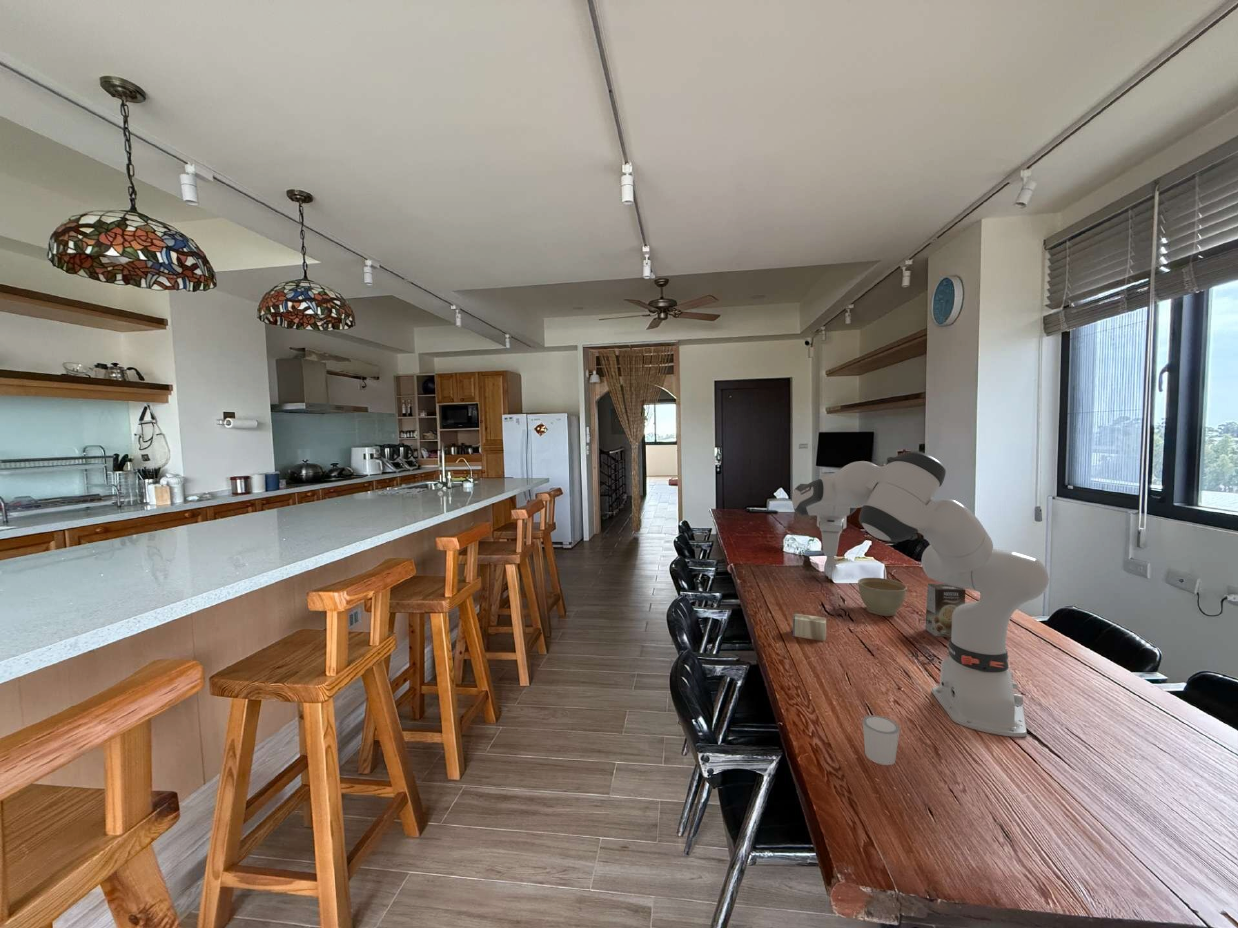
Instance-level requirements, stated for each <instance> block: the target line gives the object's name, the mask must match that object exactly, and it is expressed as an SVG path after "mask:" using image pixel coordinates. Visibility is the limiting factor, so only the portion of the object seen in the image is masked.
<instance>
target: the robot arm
mask: <svg viewBox="0 0 1238 928" xmlns="http://www.w3.org/2000/svg"><path fill="white" fill-rule="evenodd" d="M946 472H947V471H946V468H945V467H944V465H943V463H942V462H941V461H939V460H938V459H937V458H935V457H933V456H931V455H930V454H927V453H925V452H922V451H918V450H911V451H907V452H902V453H900V454H898V455H896V456H888V457H887V458H886V463H885V465H883V466H879V465H877V464H874V463H873V462H871V461H865V460H860V461H853V462H850V463H848V464H846V465H844V466H842V468H840V469H839V470H838V471H828V472H822V473H820V474H819V478H818V479H815V480H812V481H811V482H809V483H799V484H798V485H797V486H796V487H795V488H794V489H793V492H792V496H791V502H792V507H793V510H794V511H795V512H796V513H797V514H799V516H801V517H805V516H806V517H807V516H808V517H809V516H816V527H818V528H819V531H821V532H820V533H821V541H822V542H821V544H822V550H823V551H822V552H823V554H824V556H826V563H827V564H826V566H827V568H828V569H830V568H831V569H832V568H834V561H835V557H836V556H837V554H838V548H839V541H840V536H841V534H842V533H843V530H845V529H846V528H847V517H848V516H851V515H852V514H853V513H854V512H855V511H857V509H859V508H861V510H860V513H859V515H858V521H859V523H860V525H861V526H862V527H863V528H864V530H865V531H866V532H867V533H868V534H870V535H871V536H872V537H874V538H876V539H879V540H881V541H886V542H888V543H900V542H903V541H907V540H911V541H913V540H916V539H918V534H920V535H922V536H923V537H924V538H925V539H926V540H927V542H928V543H929V545H928V546H927V547H926V548H925V549H924V551H923V552H922V555H921V567H922V569H923V572H924V573H925V575H926V576H927V577H928V578H929V579H931V580H934V581H937V582H938V583H940V584H947V585H950V586H955V587H959V588H963V589H965V590H970V591H975V592H978V593H979V600H977V601H972V602H967V603H966V602H965V604H963V605H960V606H958V607H957V608H956V609H955V610H954V611H953V613H952V632H951V637H950V639H949V641H948V656H947V657H946V658H945V659H943V660H942V661H941V665H940V675H939V686H938V685H937V686H932V688H931V693H932V694H933V696H934V697H935V698H936V700H937V701H938V703H939V704H940V705H941V707H942V708H943V709H944V711H945V712H946V713H947V714H948V716H949V717H950V719H951V721H953V722H954V723H956V724H957V725H960V726H964V727H965V728H969V729H973V730H976V731H979V732H983V733H988V734H993V735H999V736H1005V737H1014V738H1018V737H1019V738H1022V737H1023V738H1024V737H1027V736H1028V732H1027V726H1026V725H1027V724H1026V719H1025V712H1024V705H1023V704H1024V698H1023V695H1022V694H1017V693H1014V689H1015V690H1017V689H1018V683H1017V682H1014V681H1013V672H1012V671H1011V670H1010V668H1009V662H1010V661H1009V655H1008V653H1009V652H1008V650H1007V649H1006V648H1007V647H1006V646H1007V635H1008V628H1009V623H1010V619H1011V617H1012V616H1013V615H1014V612H1016V610H1018V609H1019V607H1021V606H1023V605H1024V604H1026V603H1028V602H1030V601H1032V600H1035V599H1037V598H1039V597H1041V596H1042V595H1043V594H1044V593H1045V591H1046V590H1047V588H1048V585H1049V574H1048V570H1047V568H1046V567H1045V564H1044V563H1043V562H1042V561H1040V559H1039V558H1035V557H1032V556H1029V555H1026V554H1023V553H1020V552H1016V551H1010V550H1003V549H997V548H994V543H993V540H992V539H991V537H990V535H989V533H988V532H987V530H986V529H985V527H984V525H983V524H982V522H981V521H980V520H979V519H978V517H977V516H976V515H975V513H973V512H972V511H971V510H970V509H969V508H967V507H966V506H965V505H963V504H962V503H961V502H958V501H957V500H955V499H951V498H940V499H936V500H934V497H935V496H936V494H937V491H938V489H939V488H940V487H941V486H942V485H943V483H944V480H945V477H946V474H947V473H946ZM917 533H918V534H917Z"/></svg>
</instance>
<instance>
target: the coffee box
mask: <svg viewBox="0 0 1238 928" xmlns="http://www.w3.org/2000/svg"><path fill="white" fill-rule="evenodd" d="M926 586H927V589H926V611H925V628H924V629H925V630H926V631H928V633H930V634H932V636H934V637H943V638H944V637H947V638H948V637H949V638H951V632H952V613H953V611H954V610H955V609H956V608H957V607H958V606H960V605H963V604H966V591H967V589H964V588H959V587H955V586H950V585H947V584H944V583H927V585H926Z"/></svg>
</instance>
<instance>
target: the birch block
mask: <svg viewBox="0 0 1238 928" xmlns="http://www.w3.org/2000/svg"><path fill="white" fill-rule="evenodd" d="M792 637H796V638H797V637H798V638H804V639H809V640H815V641H821V642H826V638H827V617H823V616H814V615H808V614H801V613H794V615H793V618H792Z"/></svg>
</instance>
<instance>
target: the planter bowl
mask: <svg viewBox="0 0 1238 928" xmlns="http://www.w3.org/2000/svg"><path fill="white" fill-rule="evenodd" d="M857 584H858V593H859V595H860V598H861V601H862V602H863V604H864V606H866V607H865V608H866V611H868V612H869V613H871V614H873V615H877V616H882V617H883V616H884V617H890V616H891V617H892V616H895V615H896V612H897V611H898V610H899V609H900V608H901V606H902V605H903V603H904V601H905V598H906V593H907V585H906V584H905V583H902V582H900V581H898V580H893V579H890V578H889V579H888V578H881V577H863V578H860V579H858V580H857Z"/></svg>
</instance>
